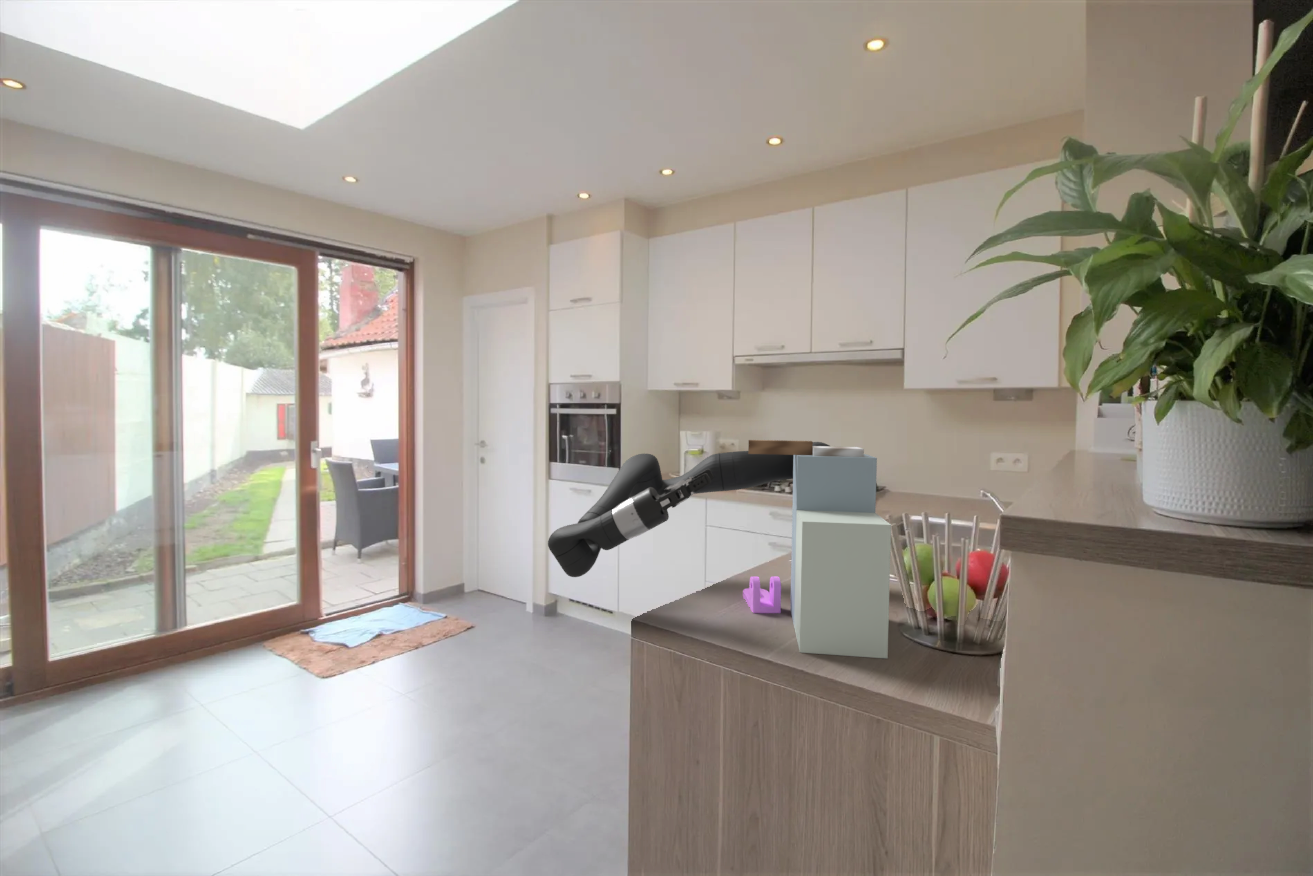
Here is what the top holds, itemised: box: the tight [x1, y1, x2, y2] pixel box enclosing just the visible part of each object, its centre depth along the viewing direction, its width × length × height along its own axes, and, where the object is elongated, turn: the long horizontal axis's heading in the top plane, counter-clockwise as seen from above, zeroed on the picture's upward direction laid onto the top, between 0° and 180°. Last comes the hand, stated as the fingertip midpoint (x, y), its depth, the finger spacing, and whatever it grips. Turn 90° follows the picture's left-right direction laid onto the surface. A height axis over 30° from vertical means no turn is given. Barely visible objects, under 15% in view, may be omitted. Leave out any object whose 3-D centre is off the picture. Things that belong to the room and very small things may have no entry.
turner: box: [747, 439, 865, 457], centre depth 114 cm, size 21×7×3 cm, turn 81°
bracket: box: [742, 575, 782, 614], centre depth 125 cm, size 13×6×7 cm, turn 3°
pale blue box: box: [789, 453, 892, 659], centre depth 108 cm, size 14×22×32 cm, turn 171°
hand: (710, 475), depth 117 cm, fingers open, 8 cm apart
